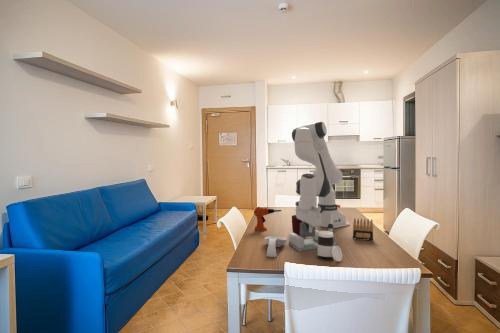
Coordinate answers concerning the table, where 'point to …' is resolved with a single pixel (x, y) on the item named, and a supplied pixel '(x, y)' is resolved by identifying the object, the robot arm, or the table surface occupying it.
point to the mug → (296, 225)
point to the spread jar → (328, 247)
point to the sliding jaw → (330, 228)
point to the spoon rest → (274, 244)
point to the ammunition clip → (363, 229)
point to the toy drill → (260, 219)
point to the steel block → (306, 230)
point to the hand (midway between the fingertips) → (307, 230)
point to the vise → (302, 242)
